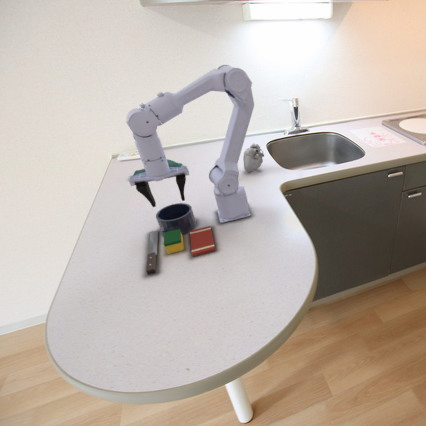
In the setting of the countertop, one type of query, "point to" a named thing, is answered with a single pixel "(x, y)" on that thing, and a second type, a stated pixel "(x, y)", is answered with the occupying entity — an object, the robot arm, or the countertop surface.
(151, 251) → the knife
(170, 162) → the green clog
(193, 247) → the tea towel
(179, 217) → the pot
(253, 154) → the heart
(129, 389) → the countertop surface
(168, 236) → the sponge
